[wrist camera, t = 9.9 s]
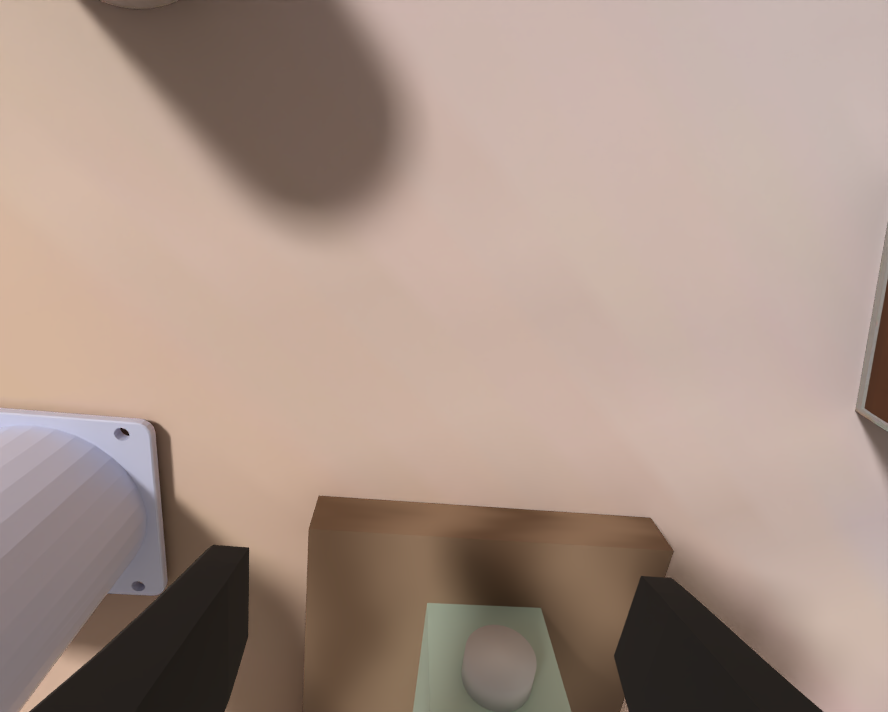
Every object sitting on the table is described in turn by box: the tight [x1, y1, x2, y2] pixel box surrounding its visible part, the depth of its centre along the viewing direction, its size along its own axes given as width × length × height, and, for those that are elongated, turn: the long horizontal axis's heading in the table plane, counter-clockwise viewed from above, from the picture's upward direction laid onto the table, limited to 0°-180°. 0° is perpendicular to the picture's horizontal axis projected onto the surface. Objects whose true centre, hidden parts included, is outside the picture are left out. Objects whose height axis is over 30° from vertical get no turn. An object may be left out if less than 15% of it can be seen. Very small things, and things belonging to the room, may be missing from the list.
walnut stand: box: [302, 496, 673, 712], centre depth 22 cm, size 14×16×2 cm
